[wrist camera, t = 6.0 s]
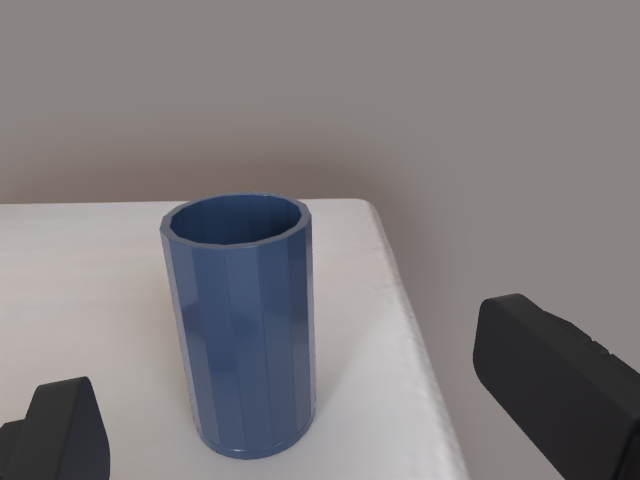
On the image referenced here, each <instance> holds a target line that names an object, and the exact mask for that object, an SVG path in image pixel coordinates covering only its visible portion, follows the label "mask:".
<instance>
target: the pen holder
mask: <svg viewBox="0 0 640 480" xmlns="http://www.w3.org/2000/svg"><path fill="white" fill-rule="evenodd" d="M160 235H161V240H162V246H163V251H164V257H165V262H166V268H167V273H168V279H169V284H170V290H171V296H172V301H173V307H174V312H175V318H176V323H177V329H178V334H179V340H180V345H181V351H182V356H183V362H184V367H185V373H186V379H187V384H188V390H189V395H190V401H191V406H192V412H193V417H194V421H195V422H196V427H197V431H198V433H199V435H200V437H201V438H202V440H203V441H204V442H205V443H206V444H207V445H208V446H209V447H210V448H211V449H213V450H214V451H216V452H218V453H220V454H222V455H225V456H227V457H232V458H237V459H258V458H264V457H268V456H271V455H274V454H277V453H279V452H282V451H284V450H286V449H287V448H289V447H290V446H292V445H293V444H295V443H296V442H297V441H298V440H299V439H300V438H301V437H302V436H303V435H304V434H305V433H306V432H307V430H308V429H309V427H310V425H311V423H312V421H313V418H314V414H315V402H316V377H315V338H314V298H313V259H312V220H311V214H310V212H309V209H308V207H307V205H306V204H304V203H302V202H300V201H298V200H296V199H294V198H293V197H289V196H285V195H280V194H276V193H271V192H252V191H244V192H231V193H222V194H216V195H212V196H207V197H202V198H198V199H195V200H192V201H190V202H187V203H185V204H182V205H180V206H177V207H176V208H174V209H173V210H172V211H170V212H169V213H168V214H166V215H165V216H164V217H163V218H162V222H161V226H160Z"/></svg>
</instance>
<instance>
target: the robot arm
mask: <svg viewBox="0 0 640 480" xmlns="http://www.w3.org/2000/svg"><path fill="white" fill-rule="evenodd" d="M473 364H474V368H475V372H476V374H477V376H478V378H479V380H480V382H481V383H482V384H483V386H484V387H485V388H486V389H487V390H488V391H489V392H490V393H491V394H492V396H493V397H494V398H495V399H496V401H497V402H498V403H499V404H500V405H501V406H502V407H503V409H504V410H505V411H506V412H507V413H508V414H509V415H510V417H511V418H512V419H513V420H514V421H515V422H516V423H517V425H518V426H519V427H520V428H521V429H522V430H523V432H524V433H525V434H526V435H527V436H528V437H529V439H530V440H531V441H532V442H533V443H534V444H535V445H536V447H537V448H538V449H539V450H540V451H541V452H542V453H543V455H544V456H545V457H546V458H547V459H548V460H549V462H550V463H551V464H552V465H553V466H554V467H555V469H556V470H557V471H558V472H559V473H560V474H561V475H562V477H563V478H564V479H565V480H640V374H639V373H638V372H636V371H635V370H634V369H632V368H631V367H630V366H628V365H627V364H626V363H624V362H623V361H622V360H620V359H619V358H617V357H616V356H615V355H614V354H611V355H610V354H609V352H608V350H607V349H606V348H604V347H603V346H602V345H600V344H599V343H597V342H596V341H592V340H591V337H589V336H588V335H587V334H585V333H584V332H583V331H581V330H580V329H579V328H577V327H576V326H574V325H573V324H572V323H571V322H568V321H566V320H564V319H562V318H559V317H557V316H555V315H553V314H551V313H548V312H546V311H543V310H542V309H541V308H539V307H538V306H537V305H535V304H534V303H533V302H531V301H530V300H529V299H528V298H526V297H525V296H523V295H521V294H510V295H505V296H500V297H495V298H490V299H486V300H484V301H483V302H482V304H481V306H480V311H479V318H478V325H477V331H476V339H475V344H474V351H473ZM109 476H110V449H109V442H108V438H107V434H106V431H105V428H104V424H103V421H102V418H101V414H100V411H99V408H98V404H97V401H96V398H95V394H94V391H93V388H92V385H91V382H90V380H89V378H88V377H86V376H84V377H79V378H74V379H69V380H64V381H59V382H54V383H48V384H43V385H39V386H38V387H37V389H36V390H35V393H34V395H33V398H32V401H31V403H30V406H29V409H28V411H27V414H26V417H25V419H23V420H18V421H13V422H9V423H5V424H4V425H3V426H2V427H1V428H0V480H109Z"/></svg>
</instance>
